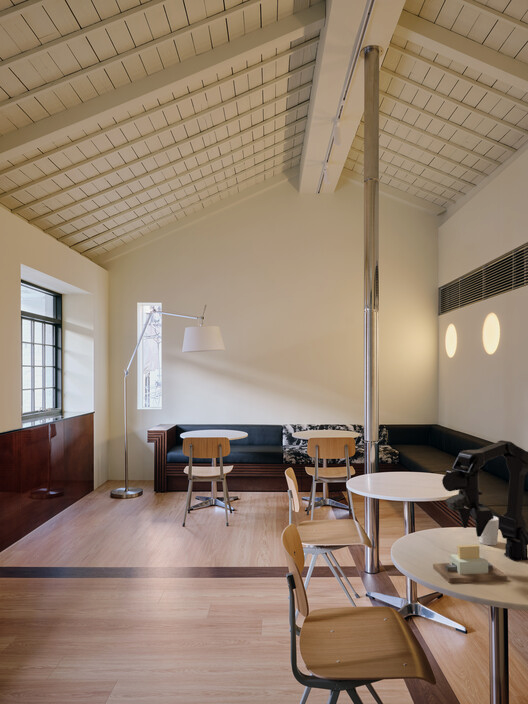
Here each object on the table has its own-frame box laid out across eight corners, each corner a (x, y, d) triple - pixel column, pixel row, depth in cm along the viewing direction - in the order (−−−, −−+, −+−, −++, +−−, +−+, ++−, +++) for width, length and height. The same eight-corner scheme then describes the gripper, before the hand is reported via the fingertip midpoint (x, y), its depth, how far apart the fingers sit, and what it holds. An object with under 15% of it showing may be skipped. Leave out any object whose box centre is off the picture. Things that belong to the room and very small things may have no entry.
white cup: (473, 540, 201) (472, 515, 202) (489, 538, 204) (488, 513, 204) (487, 547, 194) (486, 521, 194) (503, 544, 196) (503, 519, 196)
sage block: (477, 564, 173) (476, 541, 173) (488, 573, 166) (487, 549, 166) (449, 566, 172) (449, 542, 172) (459, 574, 165) (459, 550, 165)
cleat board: (487, 565, 176) (487, 557, 176) (507, 580, 164) (506, 571, 164) (433, 568, 174) (433, 559, 174) (449, 582, 162) (449, 573, 162)
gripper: (436, 482, 183) (437, 524, 182) (462, 495, 164) (463, 543, 164) (464, 480, 184) (466, 523, 184) (493, 494, 165) (495, 540, 165)
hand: (471, 532), depth 174 cm, fingers open, 9 cm apart
